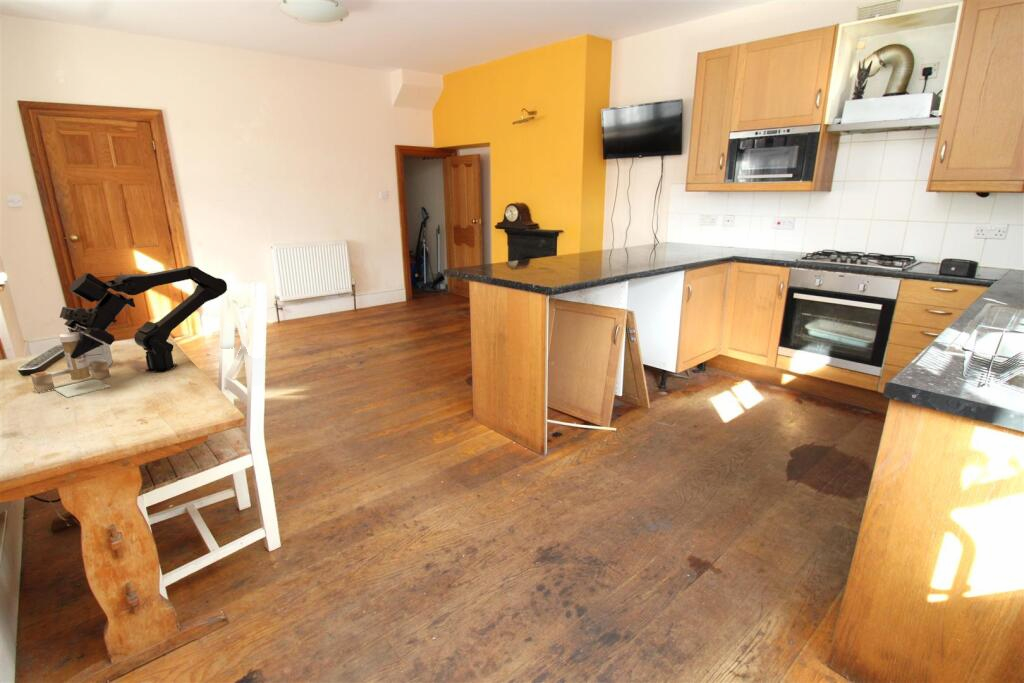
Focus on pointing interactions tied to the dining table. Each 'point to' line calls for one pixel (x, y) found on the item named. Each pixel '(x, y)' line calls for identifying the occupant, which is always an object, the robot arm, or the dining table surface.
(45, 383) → the handrail
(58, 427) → the dining table surface
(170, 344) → the robot arm
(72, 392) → the pad
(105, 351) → the supplement box
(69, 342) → the sprinkles bottle
